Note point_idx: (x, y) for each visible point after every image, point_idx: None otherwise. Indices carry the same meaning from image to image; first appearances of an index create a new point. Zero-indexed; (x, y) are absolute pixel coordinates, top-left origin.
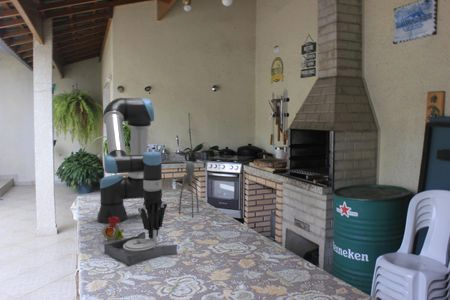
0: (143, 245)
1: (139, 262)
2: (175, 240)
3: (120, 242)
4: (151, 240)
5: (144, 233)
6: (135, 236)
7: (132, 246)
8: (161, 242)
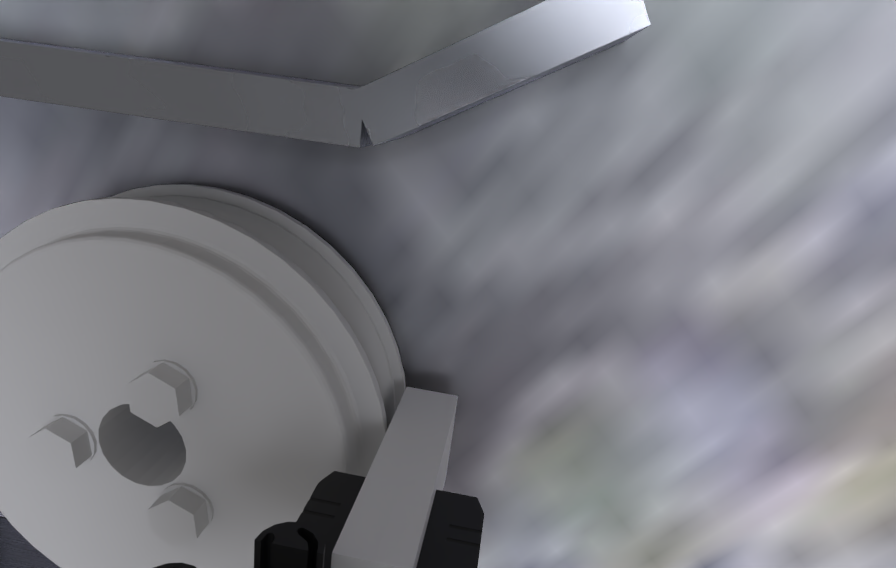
0: (134, 556)
1: None
2: (874, 450)
3: (13, 94)
4: None
5: (604, 46)
6: (327, 88)
7: (5, 468)
8: (678, 344)
